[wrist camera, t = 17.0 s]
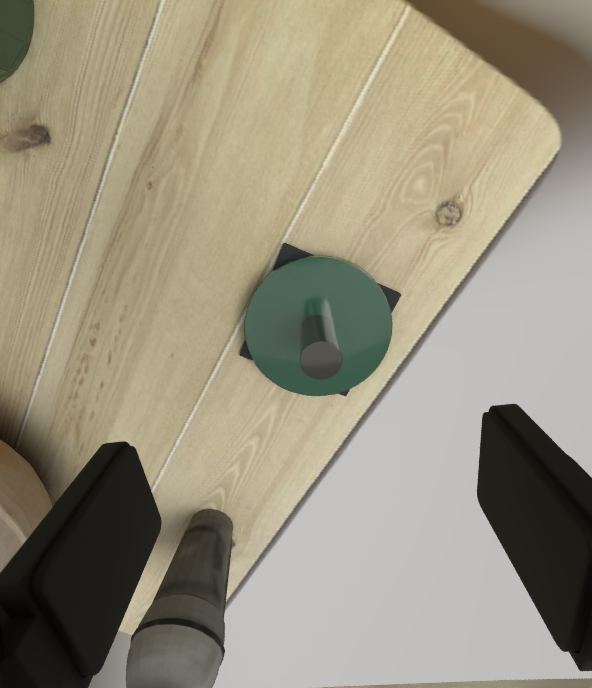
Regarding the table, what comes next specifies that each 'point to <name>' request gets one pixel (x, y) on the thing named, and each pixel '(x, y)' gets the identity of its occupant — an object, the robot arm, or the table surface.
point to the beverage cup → (186, 612)
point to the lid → (318, 326)
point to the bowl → (18, 502)
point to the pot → (14, 33)
